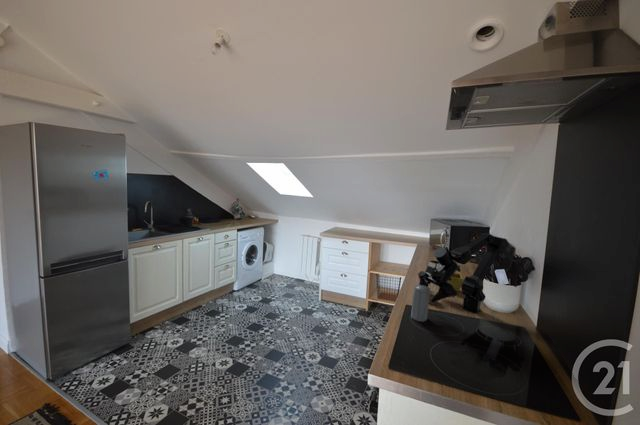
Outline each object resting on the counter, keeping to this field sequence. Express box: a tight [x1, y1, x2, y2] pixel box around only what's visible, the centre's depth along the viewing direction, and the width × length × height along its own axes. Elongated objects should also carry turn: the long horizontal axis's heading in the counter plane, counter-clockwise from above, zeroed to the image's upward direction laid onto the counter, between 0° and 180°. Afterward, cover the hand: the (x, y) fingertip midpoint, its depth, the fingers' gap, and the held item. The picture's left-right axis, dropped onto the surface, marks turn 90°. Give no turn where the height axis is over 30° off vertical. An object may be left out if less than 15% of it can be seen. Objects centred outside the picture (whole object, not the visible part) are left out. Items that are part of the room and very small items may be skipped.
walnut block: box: [429, 289, 438, 305], centre depth 143 cm, size 5×5×5 cm
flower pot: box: [447, 272, 464, 292], centre depth 160 cm, size 9×9×9 cm
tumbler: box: [410, 284, 431, 323], centre depth 124 cm, size 6×6×14 cm
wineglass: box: [427, 260, 442, 291], centre depth 152 cm, size 8×8×18 cm
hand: (424, 297), depth 124 cm, fingers open, 9 cm apart
